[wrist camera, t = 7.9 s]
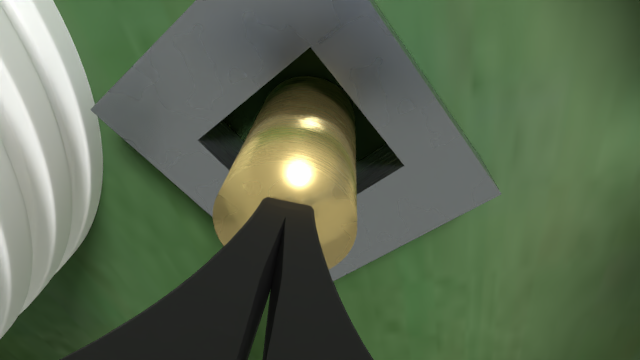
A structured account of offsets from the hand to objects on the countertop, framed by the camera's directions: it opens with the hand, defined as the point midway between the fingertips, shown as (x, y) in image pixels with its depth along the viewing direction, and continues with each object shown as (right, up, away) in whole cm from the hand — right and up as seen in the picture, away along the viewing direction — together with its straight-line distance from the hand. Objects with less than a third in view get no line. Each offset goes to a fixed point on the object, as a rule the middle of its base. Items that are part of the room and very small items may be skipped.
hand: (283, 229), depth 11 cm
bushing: (0, +4, +6) cm, 7 cm away
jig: (0, +4, +6) cm, 7 cm away
